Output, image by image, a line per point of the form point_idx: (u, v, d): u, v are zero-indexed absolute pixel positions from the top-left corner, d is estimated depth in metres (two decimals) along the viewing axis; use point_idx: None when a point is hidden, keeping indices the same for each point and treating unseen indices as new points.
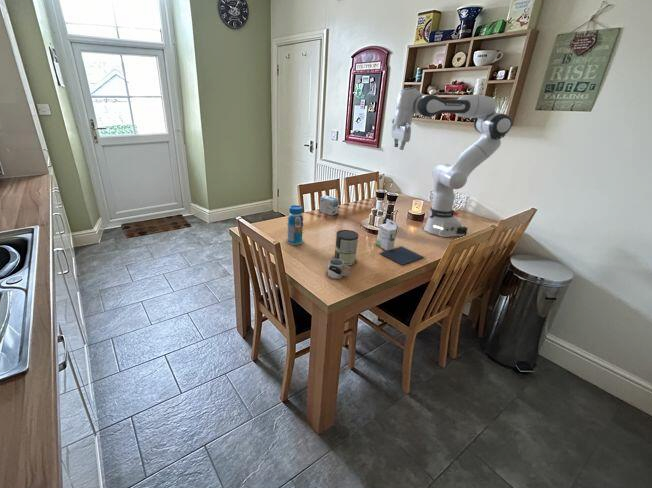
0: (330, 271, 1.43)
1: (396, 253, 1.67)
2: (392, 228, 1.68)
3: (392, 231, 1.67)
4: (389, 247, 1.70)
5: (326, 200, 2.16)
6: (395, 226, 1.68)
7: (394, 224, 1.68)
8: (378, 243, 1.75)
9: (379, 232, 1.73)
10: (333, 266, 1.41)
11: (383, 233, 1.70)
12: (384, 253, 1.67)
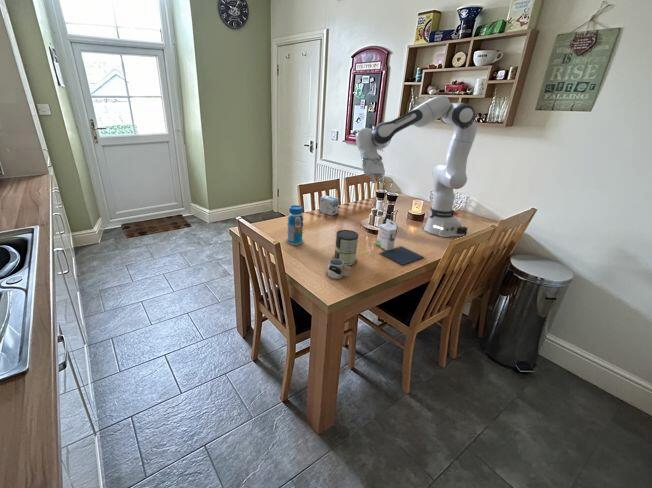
0: (330, 271, 1.43)
1: (396, 253, 1.67)
2: (392, 228, 1.68)
3: (392, 231, 1.67)
4: (389, 247, 1.70)
5: (326, 200, 2.16)
6: (395, 226, 1.68)
7: (394, 224, 1.68)
8: (378, 243, 1.75)
9: (379, 232, 1.73)
10: (333, 266, 1.41)
11: (383, 233, 1.70)
12: (384, 253, 1.67)
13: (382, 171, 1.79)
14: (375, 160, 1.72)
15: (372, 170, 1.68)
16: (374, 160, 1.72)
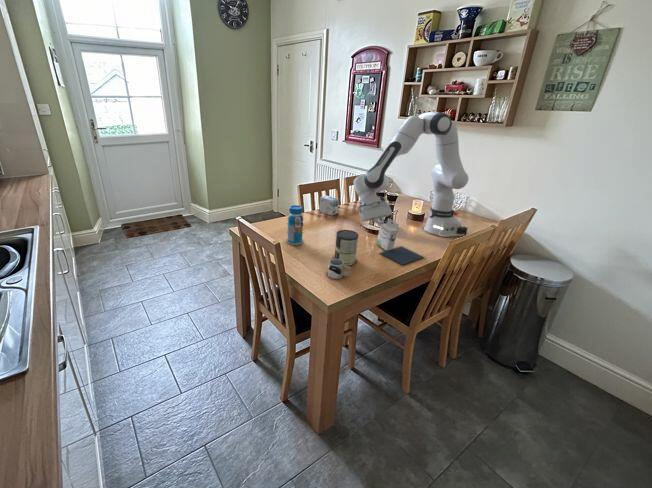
0: (330, 271, 1.43)
1: (396, 253, 1.67)
2: (393, 228, 1.67)
3: (393, 232, 1.66)
4: (389, 247, 1.70)
5: (326, 200, 2.16)
6: (396, 227, 1.67)
7: (395, 224, 1.68)
8: (378, 242, 1.75)
9: (380, 232, 1.72)
10: (333, 266, 1.41)
11: (384, 233, 1.70)
12: (384, 253, 1.67)
13: (387, 212, 1.76)
14: (374, 204, 1.73)
15: (369, 216, 1.70)
16: (372, 204, 1.73)
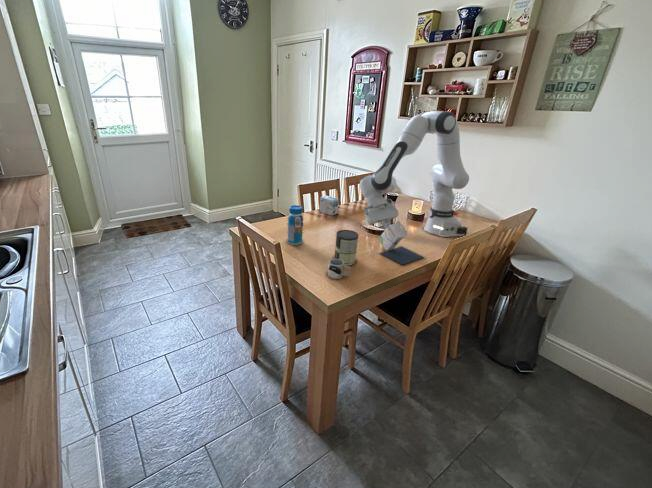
0: (330, 271, 1.43)
1: (396, 253, 1.67)
2: (400, 234, 1.63)
3: (399, 238, 1.63)
4: (390, 248, 1.69)
5: (326, 200, 2.16)
6: (404, 232, 1.63)
7: (404, 230, 1.63)
8: (381, 239, 1.72)
9: (386, 231, 1.68)
10: (333, 266, 1.41)
11: (389, 235, 1.66)
12: (384, 253, 1.67)
13: (394, 214, 1.73)
14: (380, 206, 1.69)
15: (376, 218, 1.66)
16: (379, 206, 1.69)
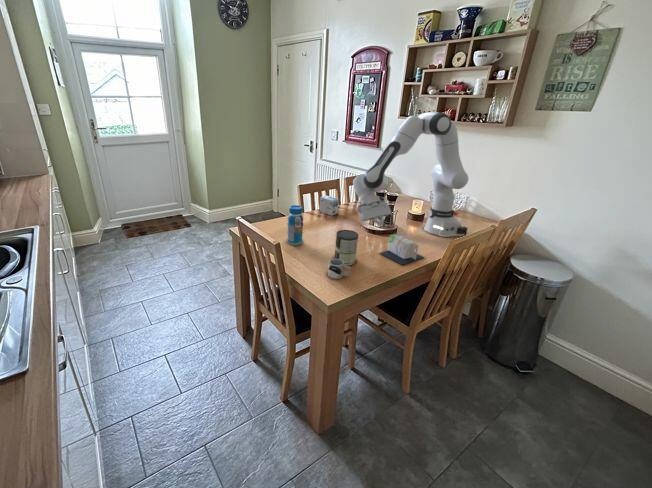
0: (330, 271, 1.43)
1: None
2: (409, 255, 1.62)
3: None
4: None
5: (326, 200, 2.16)
6: (412, 256, 1.62)
7: (414, 255, 1.61)
8: (391, 239, 1.66)
9: (400, 243, 1.61)
10: (333, 266, 1.41)
11: (400, 249, 1.62)
12: (384, 253, 1.67)
13: (386, 212, 1.77)
14: (373, 204, 1.74)
15: (368, 215, 1.70)
16: (372, 204, 1.74)
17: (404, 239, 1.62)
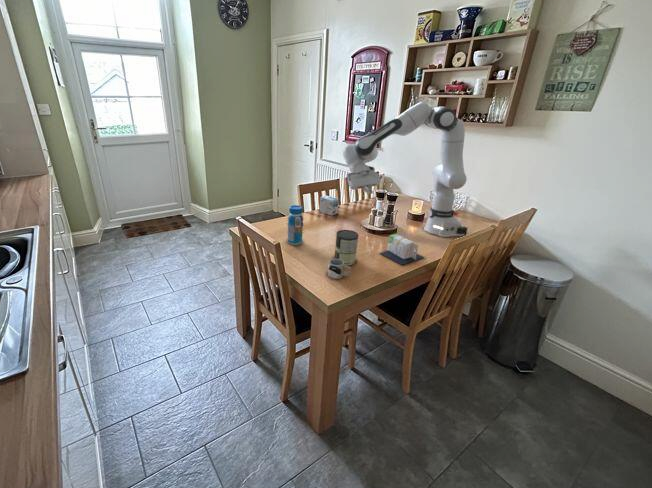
0: (330, 271, 1.43)
1: None
2: (408, 255, 1.62)
3: None
4: None
5: (326, 200, 2.16)
6: (412, 255, 1.62)
7: (414, 255, 1.61)
8: (390, 239, 1.66)
9: (400, 243, 1.61)
10: (333, 266, 1.41)
11: (400, 249, 1.62)
12: (384, 253, 1.67)
13: (376, 181, 1.80)
14: (362, 173, 1.77)
15: (358, 183, 1.73)
16: (361, 173, 1.77)
17: (403, 239, 1.62)
